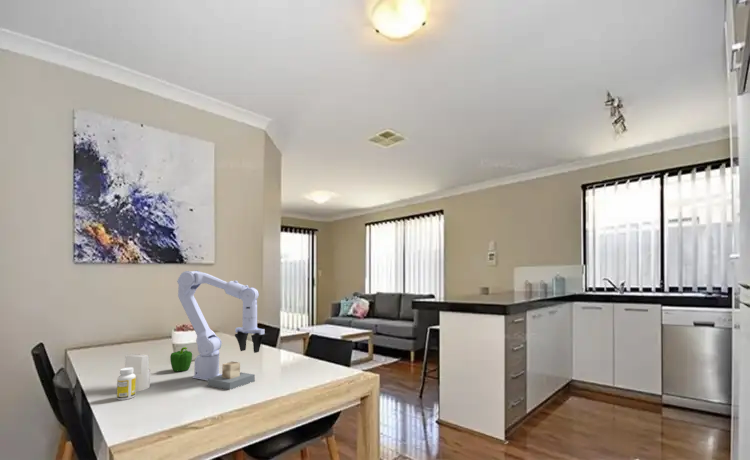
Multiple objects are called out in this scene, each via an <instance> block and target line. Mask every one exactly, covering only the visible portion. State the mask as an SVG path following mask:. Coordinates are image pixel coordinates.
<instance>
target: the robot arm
mask: <svg viewBox="0 0 750 460" xmlns="http://www.w3.org/2000/svg"><path fill="white" fill-rule="evenodd" d="M176 282H177V284H178V293H177V297H178V300H179V302H180V303H181V306H182V307H183V310H184V312H185V313H186V314H185V315H187V317H188V319H189V322H190V324H191V326H192V328H193V330H194V332H195V335H196V340H195V341H196V344H197V351H198V353H199V354H198V355H197V356H196V358H195V359H194V375H193V376H192V378H193V379H196V380H201V381H202V380H204V381H206V382H208V379H209V378H212V377H215V376H219V375H222V373H220V349H221V347H222V346H223V345H222V344H223V343H222V340H221V338H220V337H219V336H218V335H216V333H215V331H213V330H212V329H211V328H210V325H209V324H208V322H207V320H206V318H205V316H204V314H203V311H202V310H201V308H200V306H199V304H198V300H196V297H195V296H194V295H195V293H196V291H197V290H198V289H199V287H200V286H201V285H203V284H205V285H207V284H208V285H210V286H213V287H216V288H219V289H221V290H224V292H225V294H226V295H228V296H231V297H234V298H237V299H239V300H241V301H242V326H241V327H240V326H239V327H235V333H234V337H235V339H236V340H237V343H238V347H239V350H240V352H243V351H246V349H247V339H248V336H249V334H251V340H252V344H253V348H252V349H253V353H254V354H255V353H256V354H257V353H259V352H260V349H261V344H262V342H263V339H265V336H266V333H265V331H266V330H265V328H259V327H258V299H259V296H260V295H259V291H258V289H257V288H255V287H252V286H251V287H249V285H248V284H245V285H244V284H242V283H239V281H238V280H230V281H226V280H223V279H221V278H219V277H217V276H214V275H212V274H210V273H207V272H204V271H203V272H202V271H199V270H193V271H192V270H191V271H190V270H185V271H183V272H181V274H180V275H179V277H178V278H177V280H176Z"/></svg>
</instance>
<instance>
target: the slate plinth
mask: <svg viewBox="0 0 750 460" xmlns="http://www.w3.org/2000/svg"><path fill="white" fill-rule="evenodd" d="M255 376H256V375H255V374H254V373H248V372H247V373H246V372H242V371H240V376H238V377H235V378H232V379H228V378H222V375H219V376H215V377H212V378H209V379H208V381H207V387H213V388H218V389H222V388H223V390H228V389H231V390H234V389H236V387H237V388H239V387H242V386H245V385H248V384H251V383H253V382H255V381H256V380H255ZM250 382H251V383H250ZM244 384H245V385H244ZM241 385H242V386H241ZM238 386H239V387H238ZM233 388H234V389H233Z"/></svg>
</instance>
